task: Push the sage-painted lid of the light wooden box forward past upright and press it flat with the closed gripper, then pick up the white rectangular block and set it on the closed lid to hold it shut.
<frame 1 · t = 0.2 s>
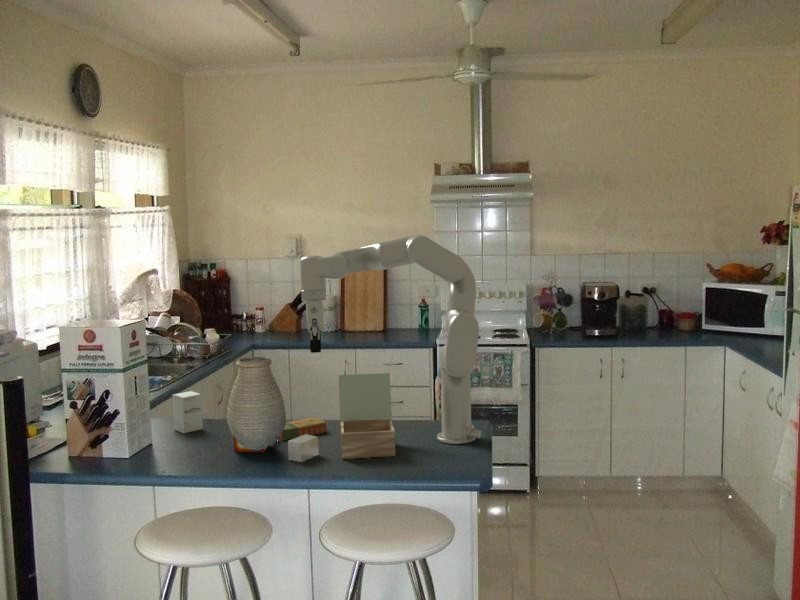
hand: (315, 349, 246), 31 cm above the table, tool pointing down, fingers open, 9 cm apart
supplement box: (188, 430, 271), on the table
baking soda box: (252, 449, 248), on the table
lid: (365, 396, 251), point 15 cm above the table, hinge at 110.0°
carton: (299, 435, 263), on the table
box: (367, 451, 243), on the table
white rectangular block: (303, 457, 238), on the table
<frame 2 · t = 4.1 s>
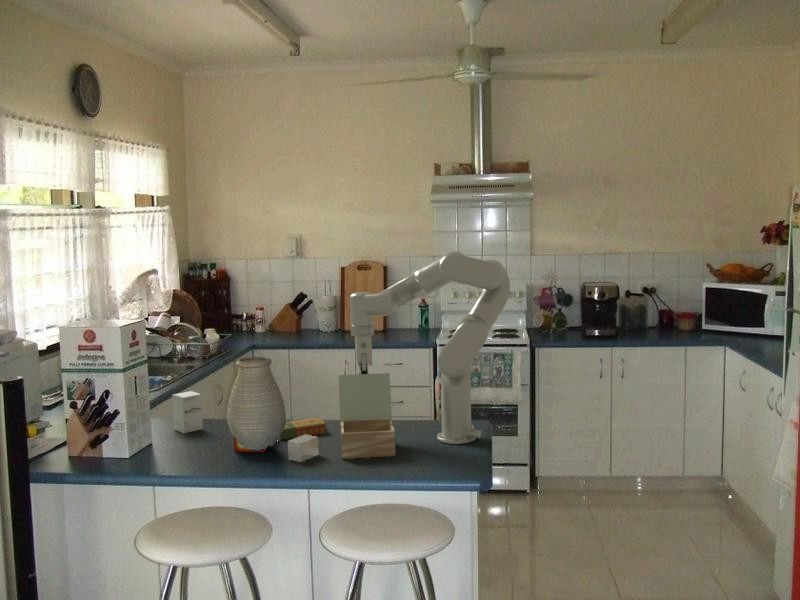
hand: (364, 385, 256), 17 cm above the table, tool pointing down, fingers closed
lid: (365, 396, 251), point 15 cm above the table, hinge at 109.8°, touching gripper
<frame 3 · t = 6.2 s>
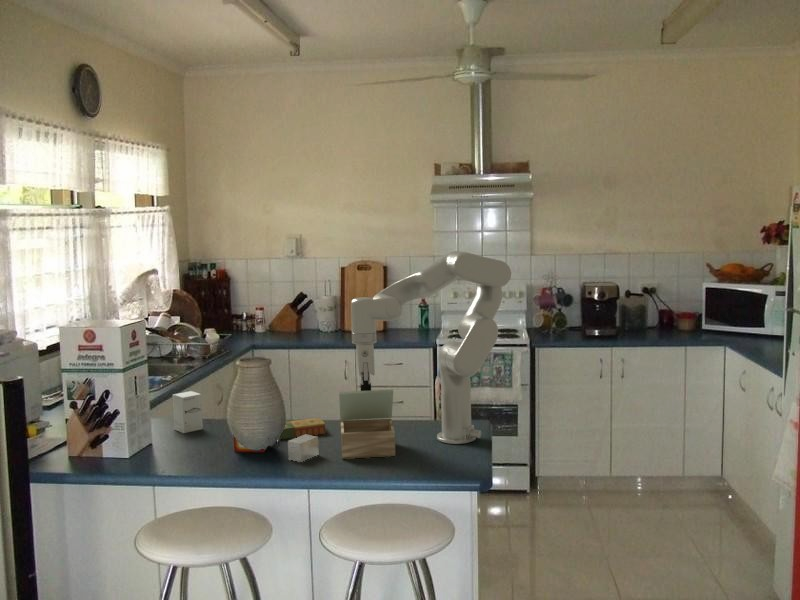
hand: (366, 396, 242), 17 cm above the table, tool pointing down, fingers closed
lid: (366, 405, 244), point 14 cm above the table, hinge at 49.0°, touching gripper
everything else where it was.
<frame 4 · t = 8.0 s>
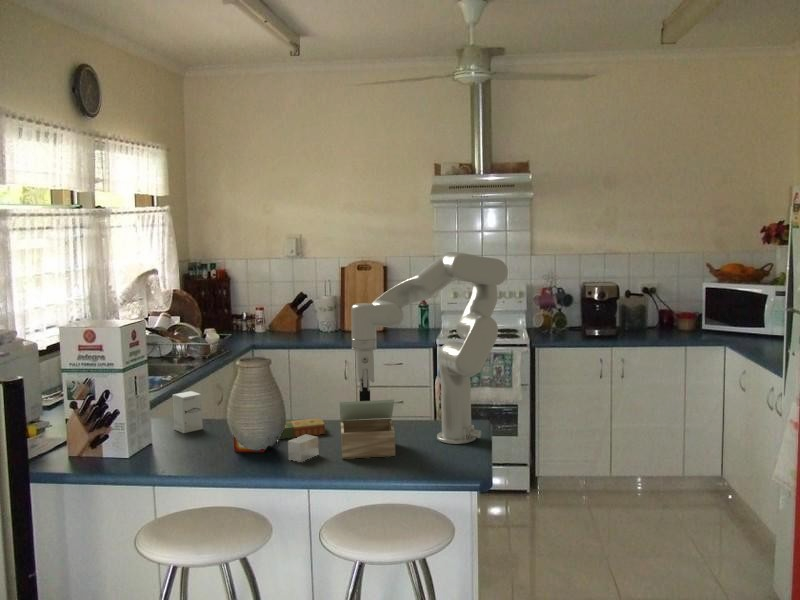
hand: (364, 403, 239), 16 cm above the table, tool pointing down, fingers closed
lid: (366, 410, 243), point 13 cm above the table, hinge at 34.6°
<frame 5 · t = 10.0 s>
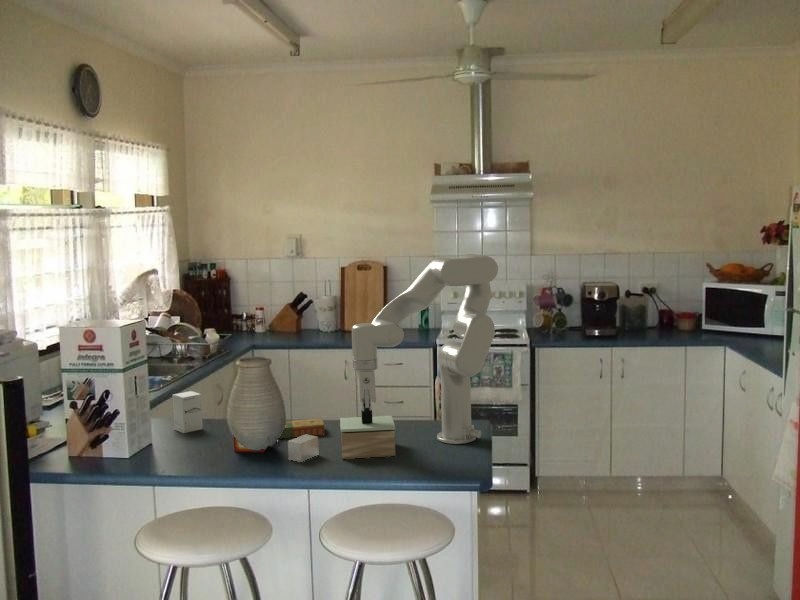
hand: (367, 422, 240), 9 cm above the table, tool pointing down, fingers closed
lid: (366, 423, 242), point 9 cm above the table, hinge at 1.7°
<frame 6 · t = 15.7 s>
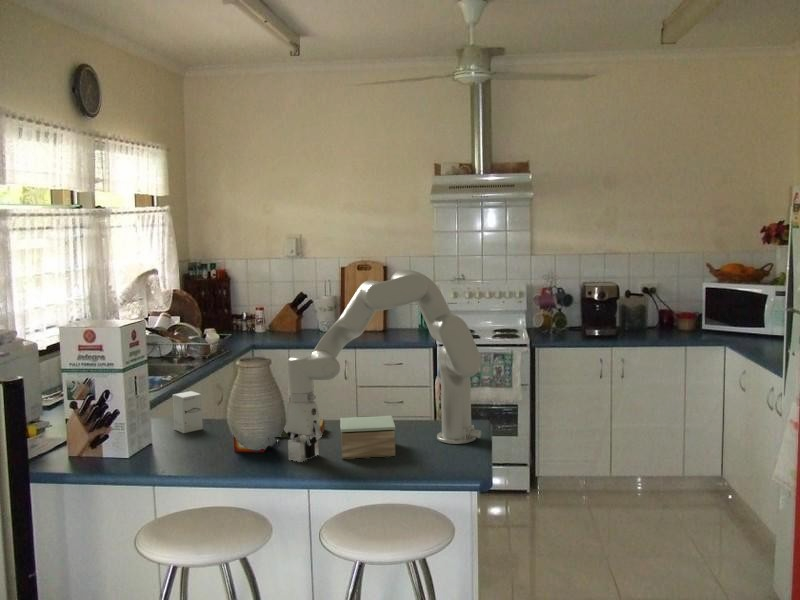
hand: (303, 454, 238), 1 cm above the table, tool pointing down, fingers closed on white rectangular block, 5 cm apart
white rectangular block: (303, 457, 238), on the table, touching gripper
when the fingers open (11 cm above the table, at t = 23.3 s): white rectangular block stays where it is, resting on lid.
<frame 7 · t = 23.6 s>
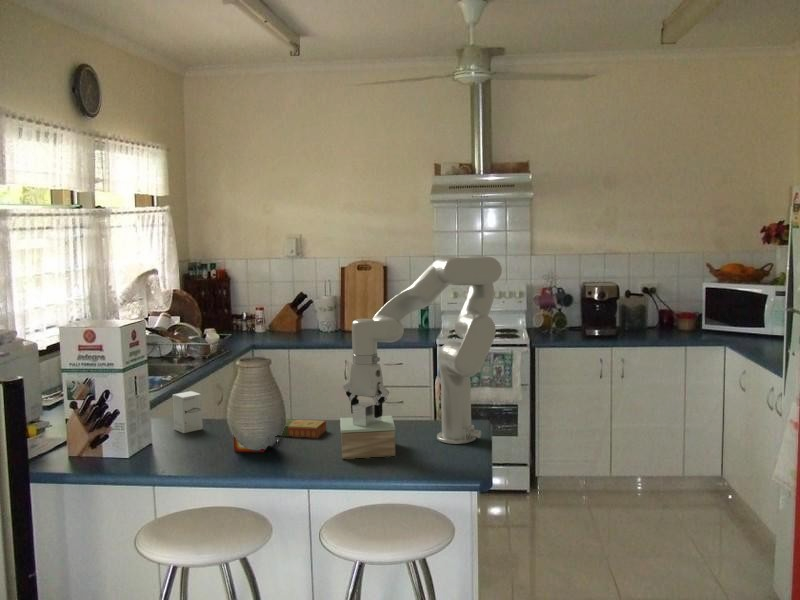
hand: (366, 414, 241), 12 cm above the table, tool pointing down, fingers open, 8 cm apart
lid: (367, 424, 242), point 9 cm above the table, hinge at 0.8°, touching white rectangular block
white rectangular block: (367, 422, 241), point 9 cm above the table, touching lid
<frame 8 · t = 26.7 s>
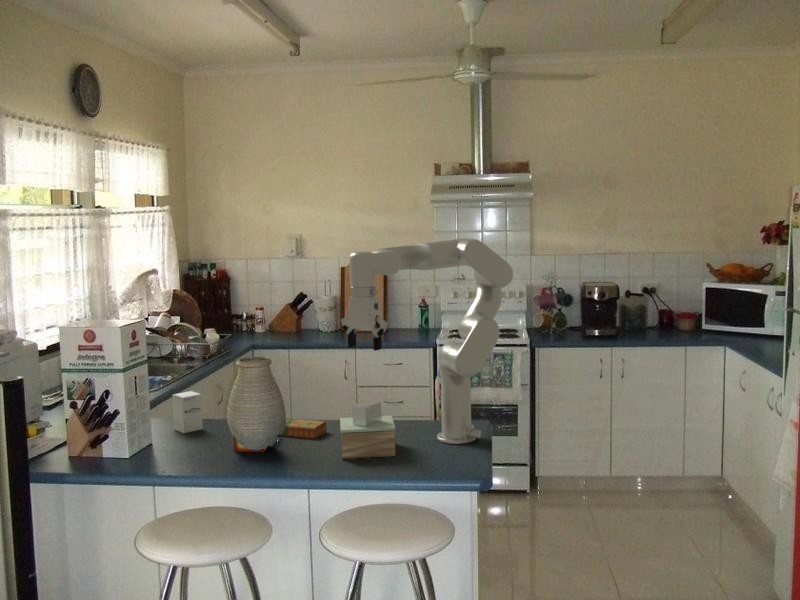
hand: (364, 348, 239), 32 cm above the table, tool pointing down, fingers open, 9 cm apart
at the end: lid at +1° (first picture: +110°); white rectangular block inside the target area on the box (0.1 cm from its centre), point 9.0 cm above the box's base; white rectangular block tilted 1° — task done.
